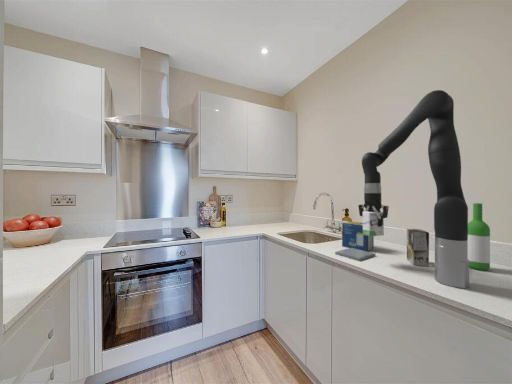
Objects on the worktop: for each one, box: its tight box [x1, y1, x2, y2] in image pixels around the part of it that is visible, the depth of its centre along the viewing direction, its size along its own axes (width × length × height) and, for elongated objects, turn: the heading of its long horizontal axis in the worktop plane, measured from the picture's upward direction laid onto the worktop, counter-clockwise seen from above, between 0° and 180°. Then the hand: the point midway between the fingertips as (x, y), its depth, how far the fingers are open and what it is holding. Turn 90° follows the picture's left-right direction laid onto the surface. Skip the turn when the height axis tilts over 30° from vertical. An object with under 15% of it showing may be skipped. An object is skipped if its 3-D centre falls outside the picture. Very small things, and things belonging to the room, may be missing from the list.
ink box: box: [362, 210, 385, 237], centre depth 103 cm, size 8×5×12 cm, turn 103°
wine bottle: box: [468, 202, 491, 271], centre depth 95 cm, size 8×8×30 cm
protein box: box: [341, 220, 375, 252], centre depth 129 cm, size 10×15×16 cm
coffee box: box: [406, 228, 430, 267], centre depth 101 cm, size 9×6×16 cm
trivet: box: [334, 248, 376, 262], centre depth 114 cm, size 14×16×1 cm
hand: (373, 225), depth 103 cm, fingers closed on ink box, 6 cm apart
